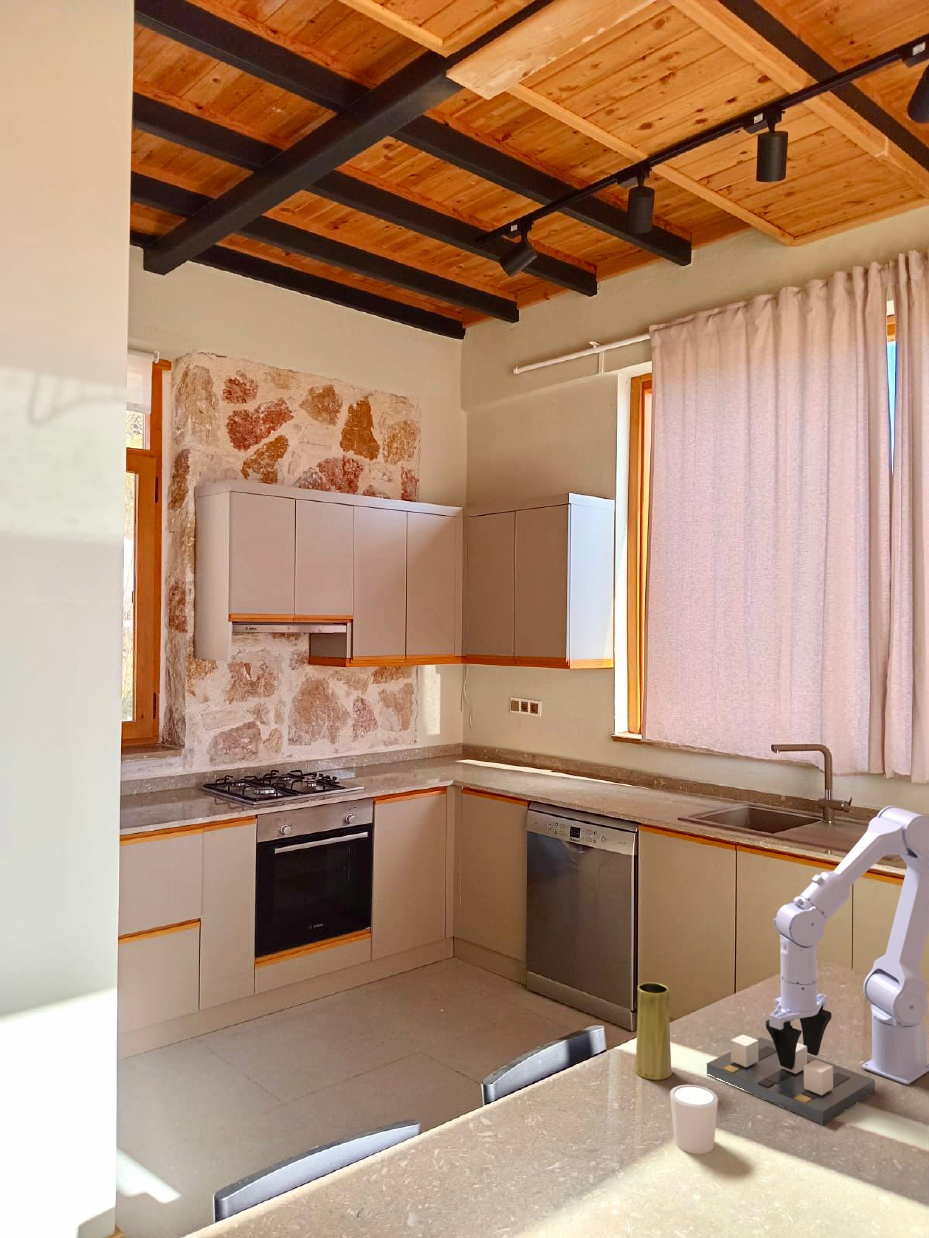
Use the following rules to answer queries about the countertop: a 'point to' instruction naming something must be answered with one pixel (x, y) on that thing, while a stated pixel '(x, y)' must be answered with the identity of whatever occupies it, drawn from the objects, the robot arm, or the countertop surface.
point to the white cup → (694, 1118)
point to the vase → (653, 1032)
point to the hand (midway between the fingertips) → (799, 1059)
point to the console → (793, 1084)
